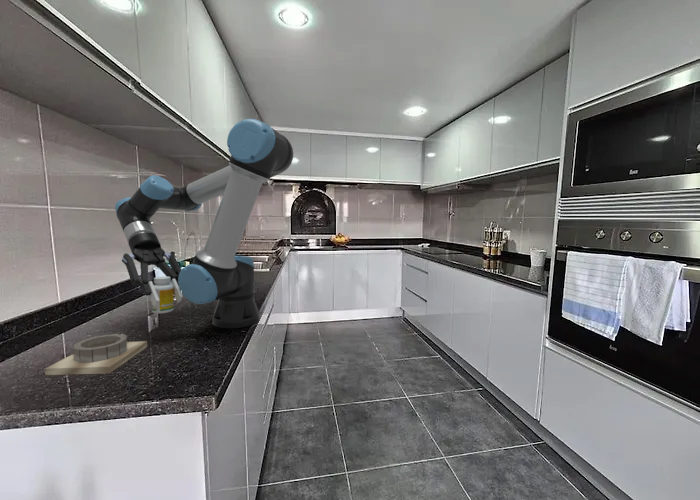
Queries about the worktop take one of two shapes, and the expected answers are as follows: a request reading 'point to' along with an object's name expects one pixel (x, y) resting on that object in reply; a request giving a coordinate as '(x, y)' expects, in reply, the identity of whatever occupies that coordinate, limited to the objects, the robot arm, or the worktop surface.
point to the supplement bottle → (163, 295)
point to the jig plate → (95, 366)
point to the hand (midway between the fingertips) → (168, 301)
